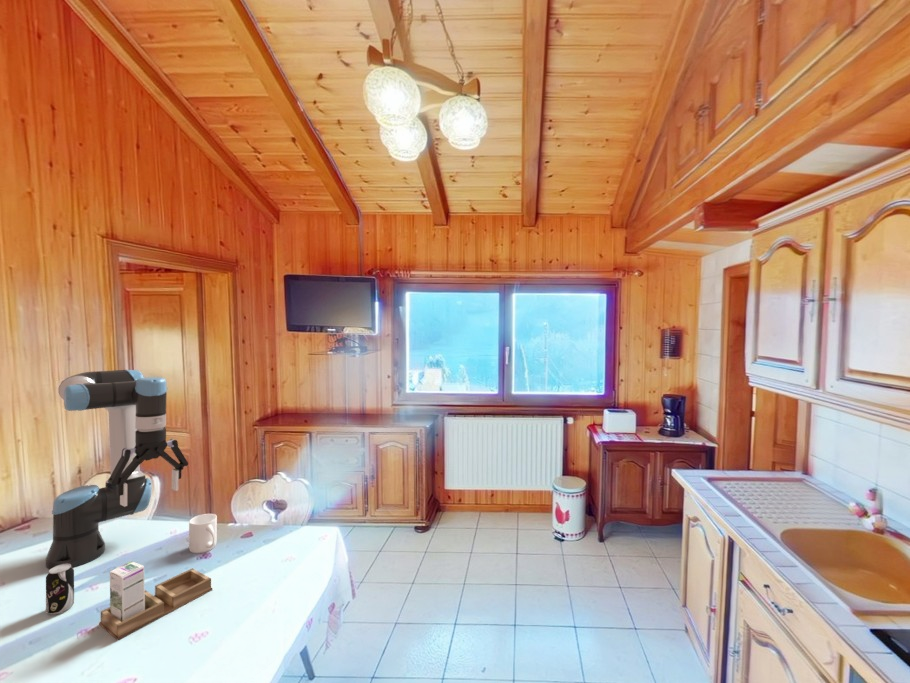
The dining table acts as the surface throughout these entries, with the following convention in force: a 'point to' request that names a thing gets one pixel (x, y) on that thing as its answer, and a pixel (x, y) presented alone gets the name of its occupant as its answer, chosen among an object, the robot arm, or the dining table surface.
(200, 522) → the mug
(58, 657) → the dining table surface
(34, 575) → the dining table surface
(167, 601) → the rack
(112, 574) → the syrup box
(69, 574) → the beverage can
